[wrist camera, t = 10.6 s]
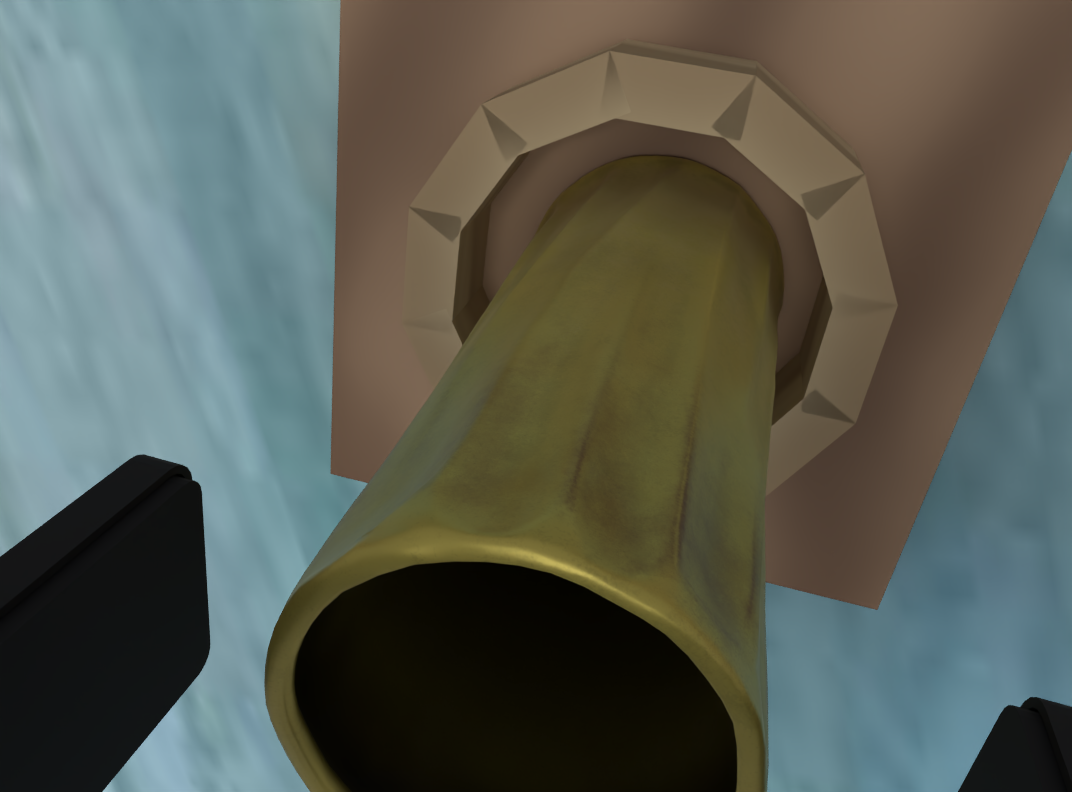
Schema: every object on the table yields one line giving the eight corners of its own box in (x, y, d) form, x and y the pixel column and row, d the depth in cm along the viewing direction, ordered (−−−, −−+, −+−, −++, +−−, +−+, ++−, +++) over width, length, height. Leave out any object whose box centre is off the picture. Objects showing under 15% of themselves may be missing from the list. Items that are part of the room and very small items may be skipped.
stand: (1122, -40, 17) (1210, -37, 14) (871, 575, 25) (888, 675, 22) (371, -147, 20) (288, -168, 16) (351, 448, 27) (291, 521, 24)
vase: (838, 239, 20) (971, 729, 7) (694, 435, 23) (615, 1019, 10) (604, 102, 19) (332, 367, 7) (490, 319, 23) (159, 770, 10)
